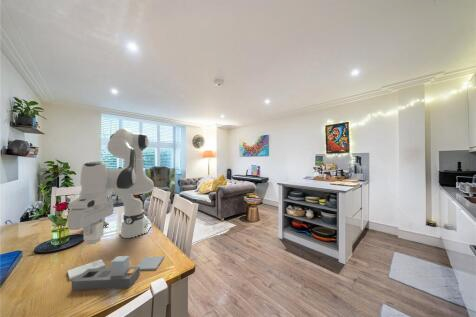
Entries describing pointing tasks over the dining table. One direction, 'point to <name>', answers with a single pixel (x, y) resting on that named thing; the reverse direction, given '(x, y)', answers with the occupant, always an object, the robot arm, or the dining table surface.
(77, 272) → the external hard drive
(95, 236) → the block
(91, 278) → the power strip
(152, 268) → the rubber mat
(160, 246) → the dining table surface
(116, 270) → the block
